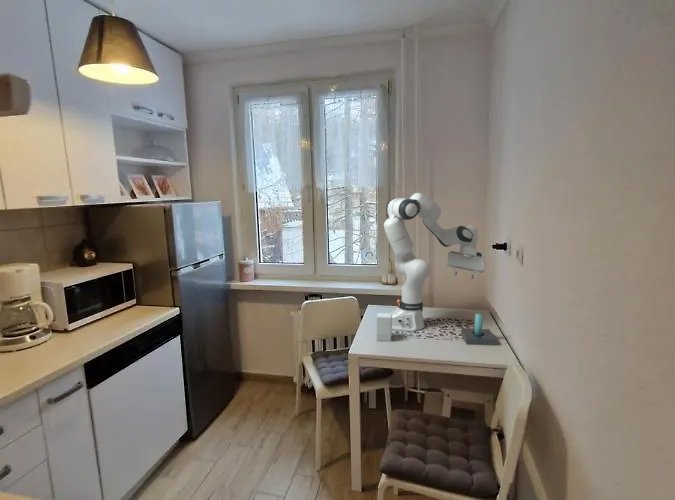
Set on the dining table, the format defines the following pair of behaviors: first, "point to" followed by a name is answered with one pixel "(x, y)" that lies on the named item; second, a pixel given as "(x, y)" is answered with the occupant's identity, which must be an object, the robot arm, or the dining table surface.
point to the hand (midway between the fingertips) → (463, 276)
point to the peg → (478, 324)
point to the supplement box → (384, 326)
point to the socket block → (478, 337)
